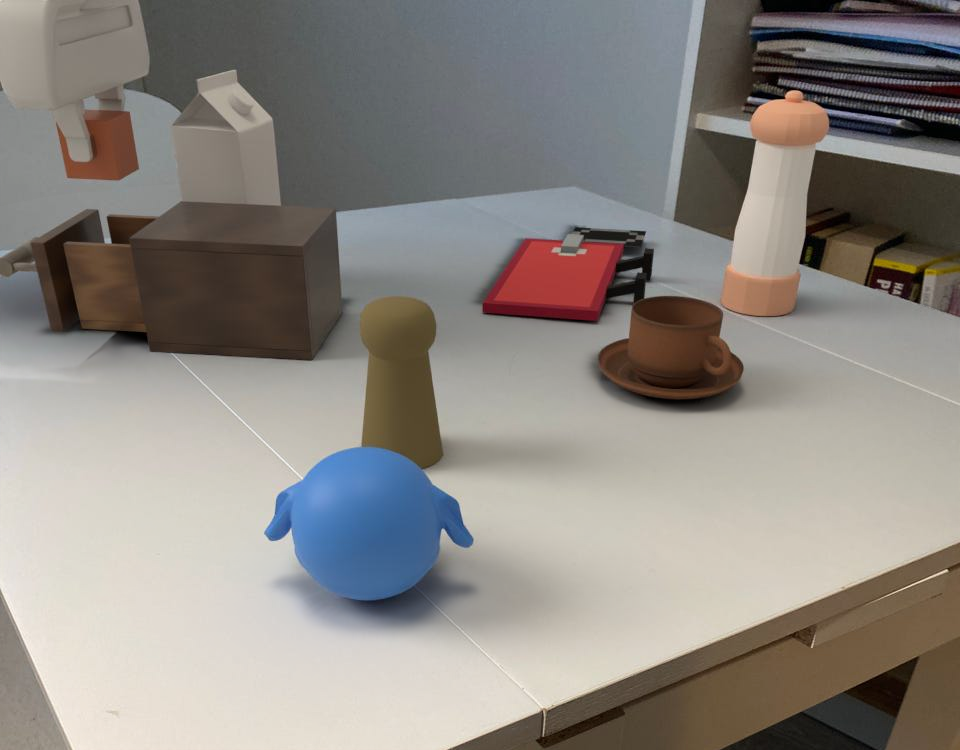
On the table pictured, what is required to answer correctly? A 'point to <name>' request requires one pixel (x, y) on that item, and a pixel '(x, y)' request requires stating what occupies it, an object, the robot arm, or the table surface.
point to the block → (105, 147)
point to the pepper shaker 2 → (774, 208)
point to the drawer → (85, 272)
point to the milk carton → (226, 146)
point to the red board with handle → (569, 275)
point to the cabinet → (239, 279)
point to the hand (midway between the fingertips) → (99, 153)
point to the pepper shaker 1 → (400, 379)
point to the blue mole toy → (367, 523)
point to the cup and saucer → (672, 350)
